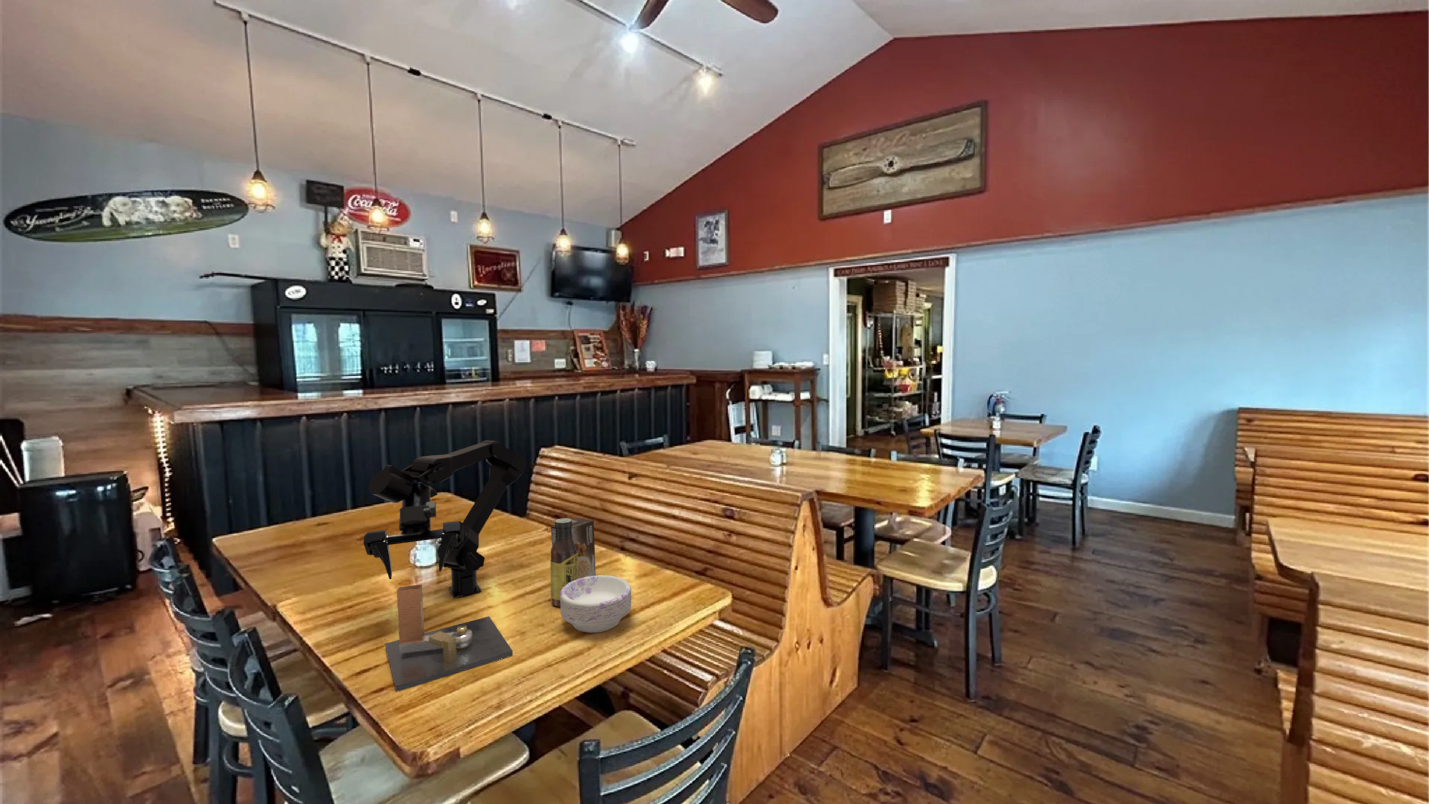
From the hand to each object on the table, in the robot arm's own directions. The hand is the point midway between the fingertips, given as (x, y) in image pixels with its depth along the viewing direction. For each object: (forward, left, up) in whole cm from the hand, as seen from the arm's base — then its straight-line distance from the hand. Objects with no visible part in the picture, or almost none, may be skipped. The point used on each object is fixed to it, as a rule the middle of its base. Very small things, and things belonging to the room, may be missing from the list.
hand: (415, 574), depth 117 cm
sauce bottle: (+2, +31, -14) cm, 34 cm away
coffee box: (-7, +37, -14) cm, 40 cm away
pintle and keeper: (+13, +4, -13) cm, 19 cm away
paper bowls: (+16, +33, -14) cm, 39 cm away
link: (+10, +2, -12) cm, 15 cm away
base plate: (+10, +4, -13) cm, 17 cm away
